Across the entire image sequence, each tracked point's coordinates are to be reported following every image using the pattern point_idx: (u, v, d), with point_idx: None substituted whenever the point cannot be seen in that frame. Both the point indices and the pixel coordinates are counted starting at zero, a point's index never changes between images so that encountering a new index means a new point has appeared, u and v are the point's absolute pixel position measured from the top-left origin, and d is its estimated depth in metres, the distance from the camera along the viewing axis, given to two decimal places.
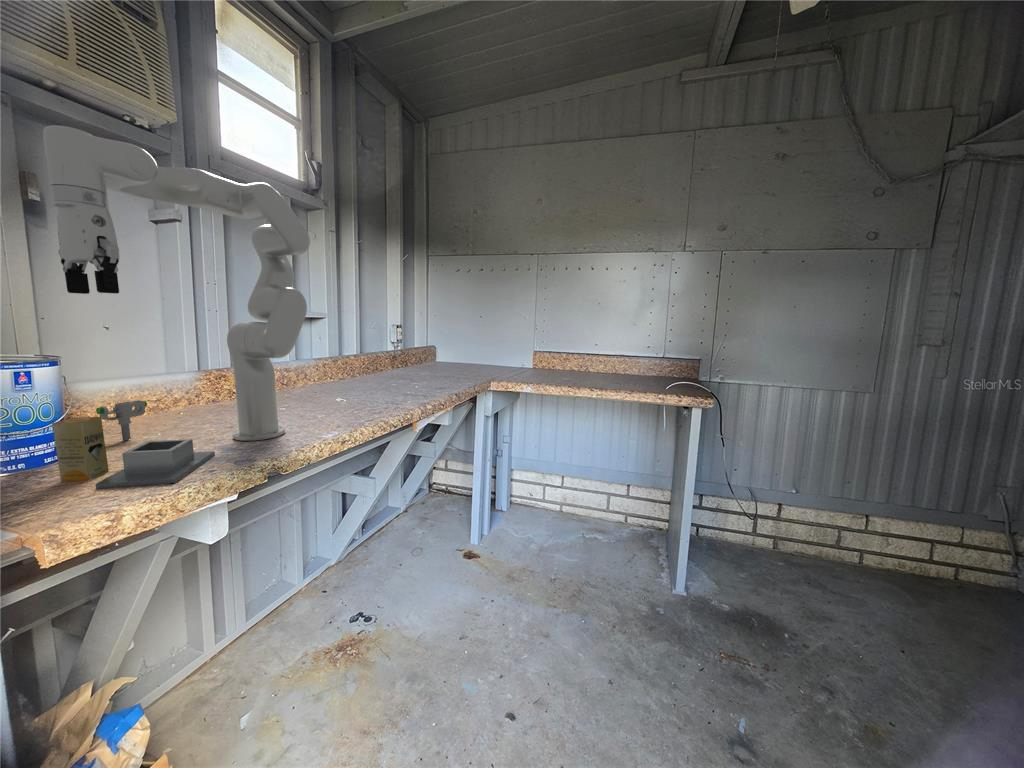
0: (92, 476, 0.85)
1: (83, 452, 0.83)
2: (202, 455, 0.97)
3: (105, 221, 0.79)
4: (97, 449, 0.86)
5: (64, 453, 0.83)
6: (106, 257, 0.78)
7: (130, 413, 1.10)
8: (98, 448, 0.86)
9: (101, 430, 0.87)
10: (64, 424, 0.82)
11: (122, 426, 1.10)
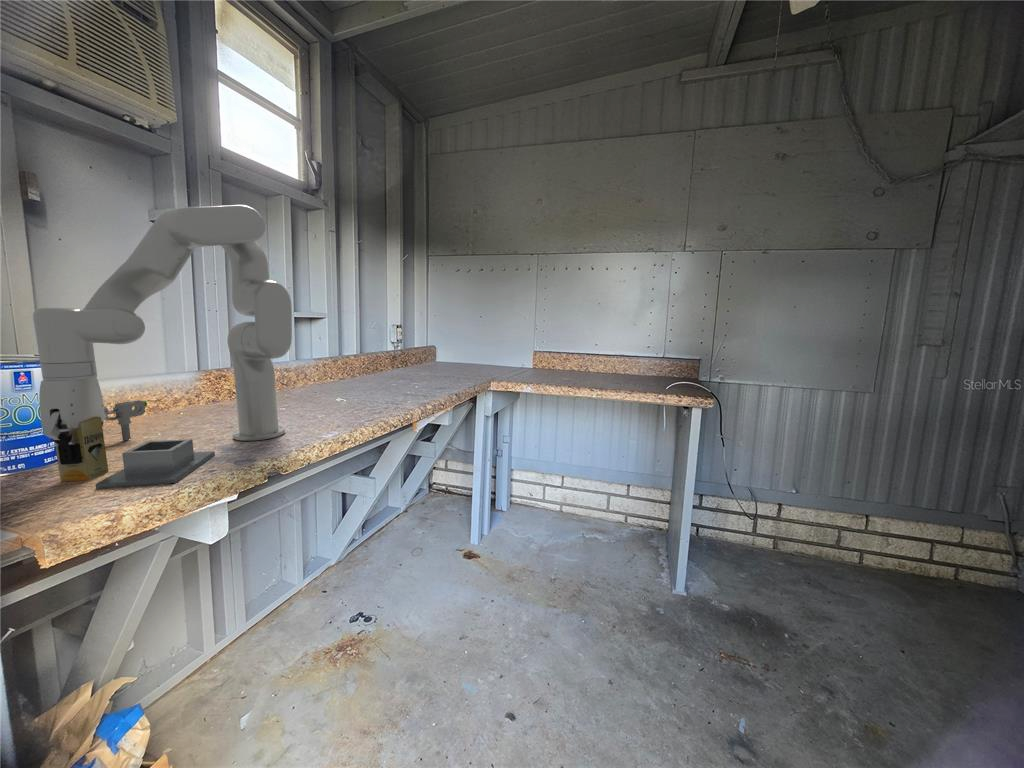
0: (92, 476, 0.85)
1: (82, 452, 0.83)
2: (202, 455, 0.97)
3: None
4: (97, 449, 0.86)
5: None
6: (102, 421, 0.90)
7: (130, 413, 1.10)
8: (98, 448, 0.86)
9: (101, 430, 0.87)
10: None
11: (122, 426, 1.10)
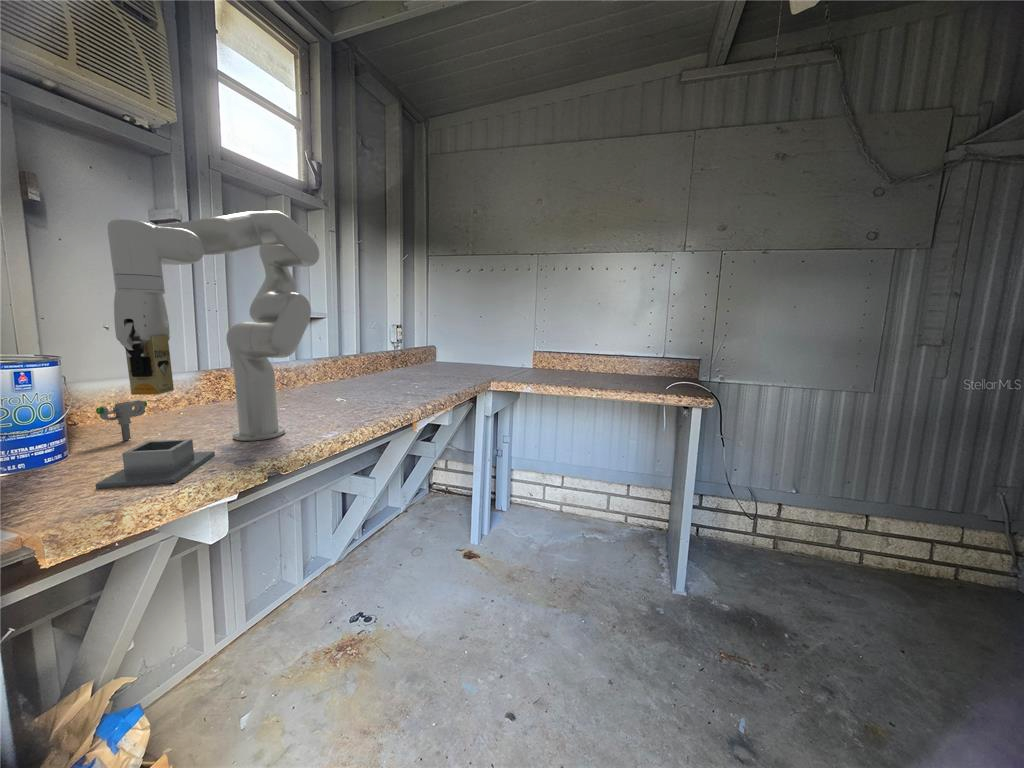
0: (160, 391, 0.86)
1: (153, 366, 0.85)
2: (202, 455, 0.97)
3: None
4: (164, 365, 0.88)
5: None
6: None
7: (130, 413, 1.10)
8: (165, 364, 0.88)
9: (168, 347, 0.89)
10: None
11: (122, 426, 1.10)
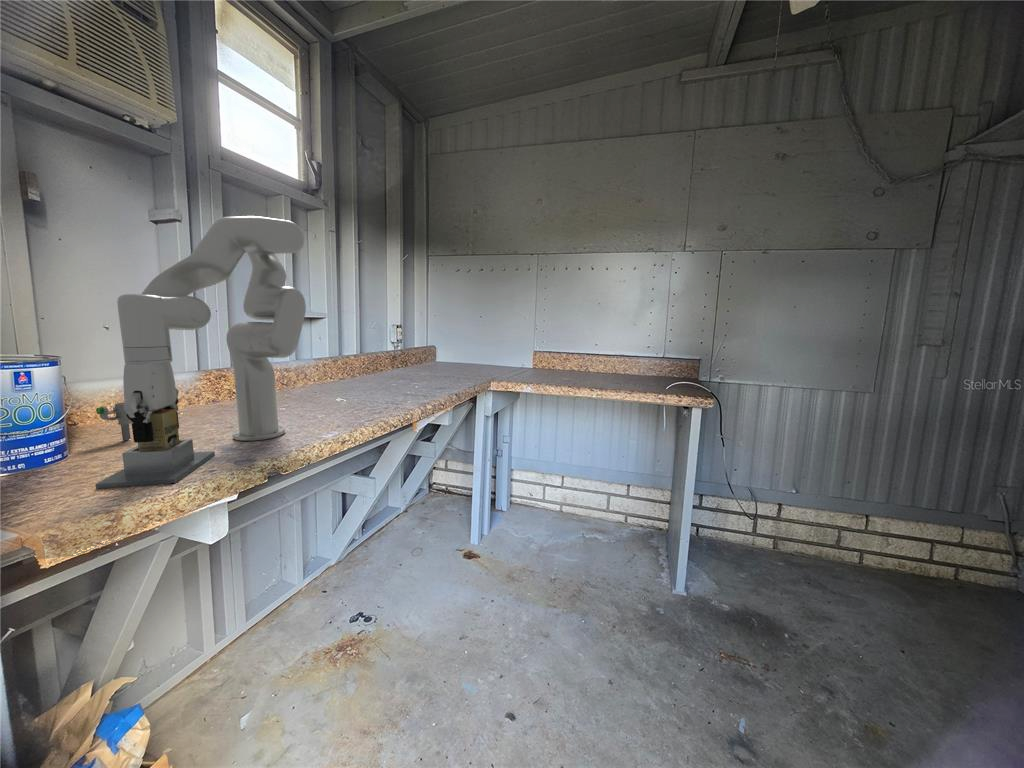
0: None
1: (163, 442, 0.87)
2: (202, 455, 0.97)
3: None
4: (173, 439, 0.90)
5: (145, 443, 0.87)
6: (177, 399, 0.95)
7: None
8: (174, 438, 0.90)
9: (176, 421, 0.91)
10: None
11: (122, 426, 1.10)
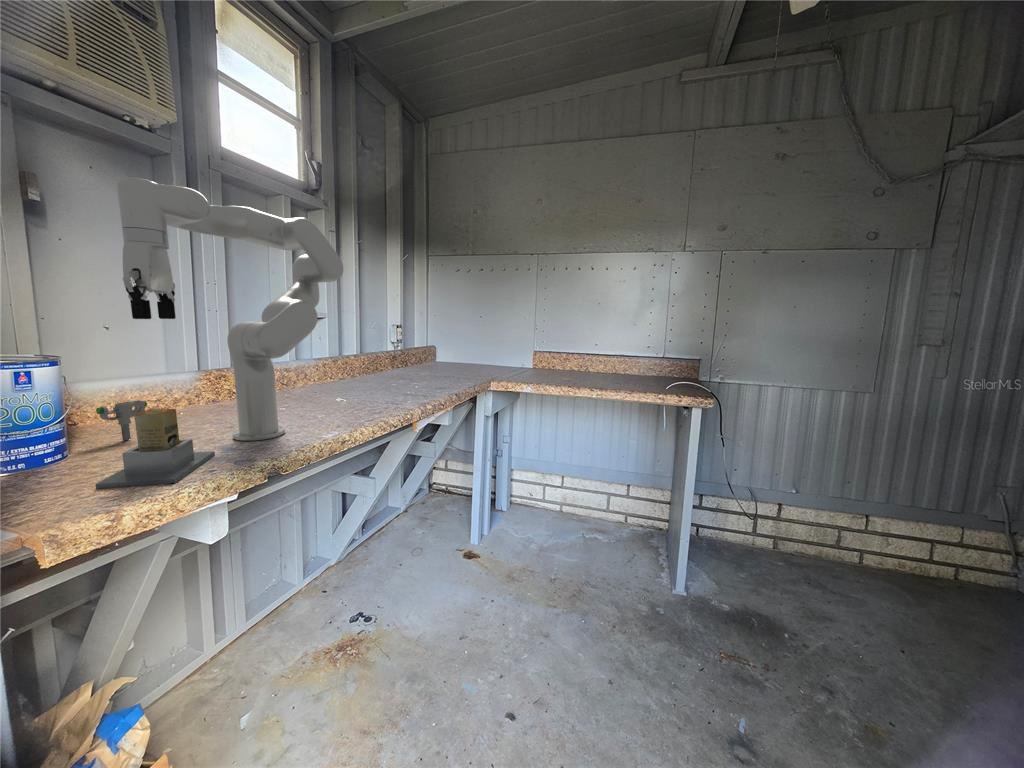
0: None
1: (163, 442, 0.87)
2: (202, 455, 0.97)
3: None
4: (173, 439, 0.90)
5: (145, 443, 0.87)
6: (173, 291, 1.00)
7: (130, 413, 1.10)
8: (174, 438, 0.90)
9: (176, 421, 0.91)
10: (146, 415, 0.86)
11: (122, 426, 1.10)
